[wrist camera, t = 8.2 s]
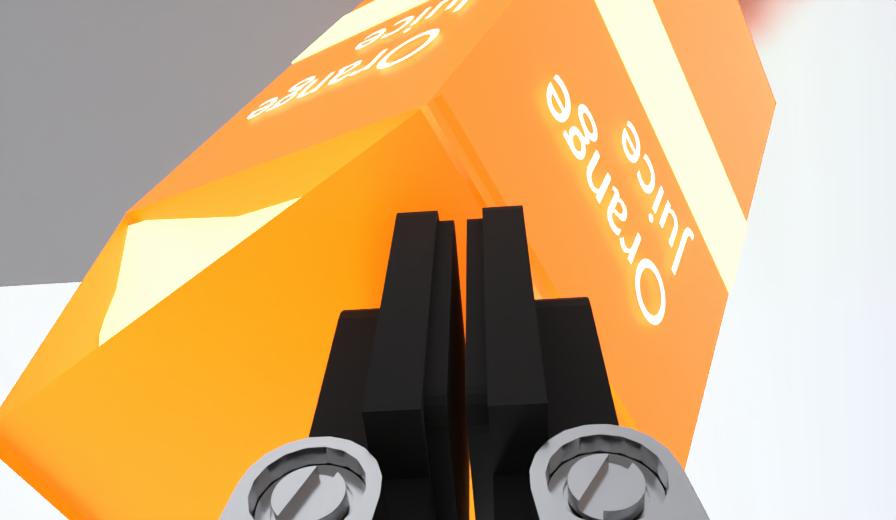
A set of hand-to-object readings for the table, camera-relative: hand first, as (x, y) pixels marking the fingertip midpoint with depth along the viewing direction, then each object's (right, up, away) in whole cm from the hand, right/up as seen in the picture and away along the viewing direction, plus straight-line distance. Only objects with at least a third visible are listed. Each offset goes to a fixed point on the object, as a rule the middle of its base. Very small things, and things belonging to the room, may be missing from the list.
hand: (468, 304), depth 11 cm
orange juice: (+5, +8, +13) cm, 16 cm away
